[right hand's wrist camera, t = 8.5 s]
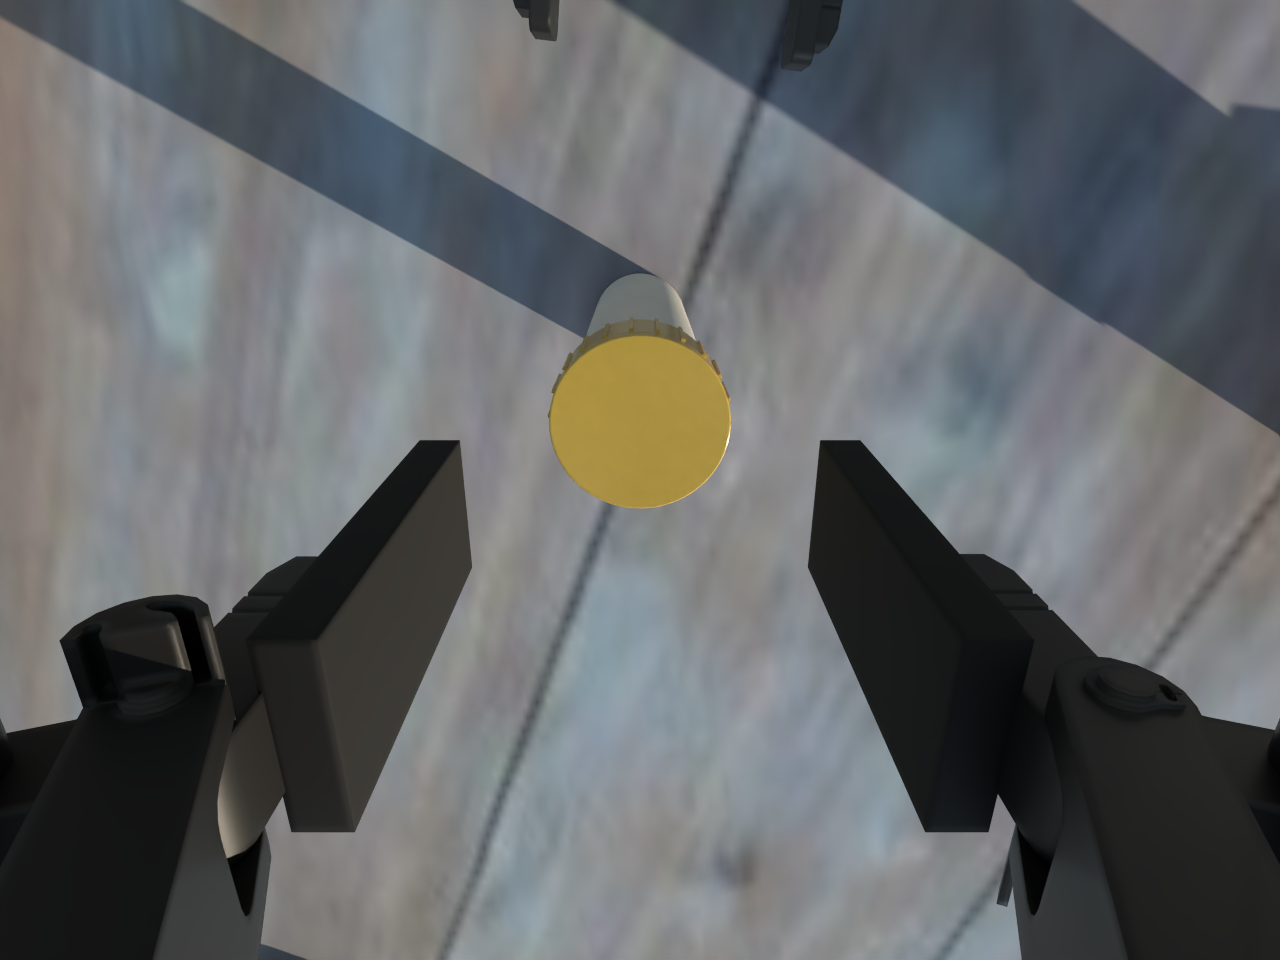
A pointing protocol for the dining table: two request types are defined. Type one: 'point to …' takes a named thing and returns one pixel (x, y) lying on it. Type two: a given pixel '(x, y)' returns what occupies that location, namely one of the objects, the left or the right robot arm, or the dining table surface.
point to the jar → (640, 303)
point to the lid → (639, 414)
